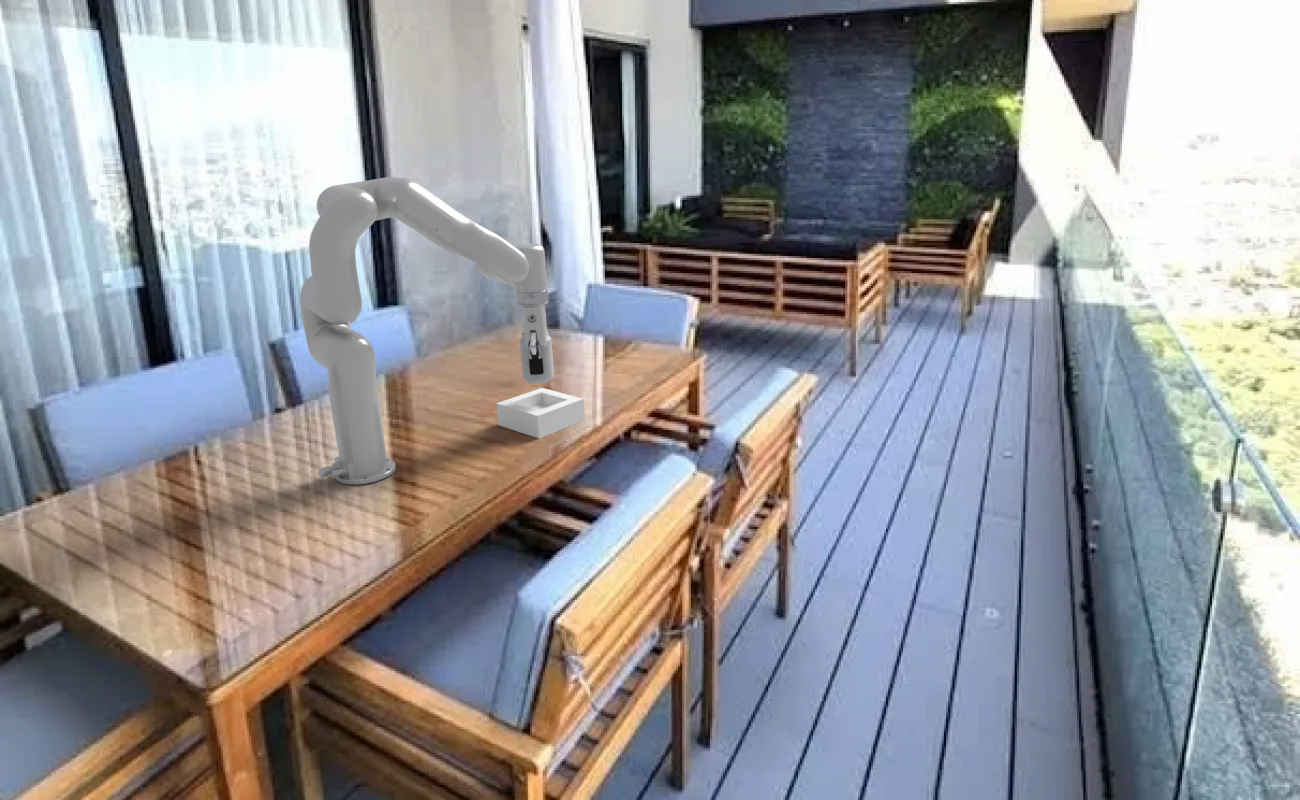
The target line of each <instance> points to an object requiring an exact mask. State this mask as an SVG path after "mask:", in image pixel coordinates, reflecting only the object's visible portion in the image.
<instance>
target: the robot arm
mask: <svg viewBox="0 0 1300 800" xmlns="http://www.w3.org/2000/svg"><path fill="white" fill-rule="evenodd" d="M316 211H317V214H318V215H319V216H318V219H317V221H316V222H315V224H314V226H313V227H312V231H311V233H310V237H309V243H308V246H309V247H308V249H309V251H308V252H309V262H310V272H311V275H310V276H309V277H308V278H307V279H306V280H305V281H304V282H303V284H302V285H301V286H302V287H301V289H300V293H299V305H300V311H301V315H302V322H303V328H304V335H305V339H306V343H307V347H308V348H307V349H308V351H309V354H310V355H311V357H312V358H313V360H314V361H316V363H317V364H319V365H321V366H322V367H324V368H325V369H326V370H327V373H328V397H329V404H330V405H329V406H330V410H331V417H332V421H333V428H334V429H333V430H334V434H335V440H336V445H337V451H338V452H337V453H338V456H336V457H334V462H332V463H331V465H328V466H325V467H321V468H319V469H318V470H317V473H318V475H319V477H320V478H326V477H329V476H331V478H334V480H335V481H336V482H338V483H341V484H343V485H344V484H345V485H356V486H357V485H365V484H371V483H376V482H379V481H381V480H384V479H386V478H388V477H389V476H392V475H393V474H394V473H395V471H396V462H395V461H394V460H392V459H391V458H388V457H387V450H386V444H385V437H384V430H383V429H384V428H383V423H382V417H381V416H382V415H381V408H380V402H379V397H378V388H377V376H376V375H377V374H376V373H377V371H376V369H377V366H376V365H377V359H376V357H377V356H376V352H375V349H374V346H373V345H372V343H371V342H370V341H369V339H368V338H367V337H365V336H364V335H363V334H361V333H360V332H358V331H356V330H353V329H352V328H351V324H352V323H354V322H356V320H357V319H358V318H359V316H360V315H361V312H362V309H363V300H362V295H361V288H360V282H359V275H358V267H357V259H356V249H357V244H358V242H359V240H360V238H361V236H362V235H363V234H364V233H365V231H366V230H368V229H369V228H370V227H371V226H372V225H373V224H374V222H376V221H380V220H383V219H389V218H391V219H396V220H398V221H400V222H401V223H402V224H403V225H405V226H407V227H409V228H410V229H412V230H413V231H415V232H417V233H418V234H420V235H421V236H423V237H424V238H426V239H427V240H428V241H430V242H432V243H433V244H434V245H436V246H438V247H439V248H442V249H443V250H445V251H447V252H448V253H452V254H454V255H457V256H460V257H463V258H466V259H468V260H470V261H473V262H474V263H475V264H476V269H477V271H478V272H479V273H480V275H481V276H483V277H484V278H486V279H488V280H491V281H496V282H500V283H503V284H507V285H514V290H515V291H514V293H515V303H516V306H518V307H521V316H522V326H523V327H522V328H523V333H524V336H525V343H526V346H527V347H528V346H529V347H528V348H529V368H530V374H531V375H540V374H543V373H544V370H543V358H541V346H544V347H545V346H546V345H547V332H548V323H547V312H546V305H548V304H549V294H548V293H549V292H548V280H547V279H548V277H547V268H546V267H547V266H546V255H545V253H546V252H545V248H544V246H543V245H541V244H540V243H539V244H538V243H521V244H517V245H512V244H511V243H509V242H508V241H507V240H506V239H504V238H502V237H501V236H499V235H498V234H496V233H495V232H493V231H491V230H489V229H487V228H486V227H484V226H482V225H480V224H479V223H478V222H476V221H474V220H472V219H471V218H469V217H467V216H466V215H464V214H463V213H460V211H458V210H457V209H455V208H454V207H452V206H450V205H449V204H448V203H447V202H445V201H444V200H442V199H441V198H439V197H438V196H437V195H436V194H434V193H432V192H431V191H430V190H428V189H427V188H425V187H424V186H423V185H421V184H420V183H418V182H417V181H415V180H413V179H410V178H404V177H397V176H396V177H394V176H386V177H381V178H376V179H375V178H374V179H370V180H364V181H354V182H350V183H342V184H337V185H335V184H334V185H331V186H329V187H327V188H325V189H324V190H323V191H322V192H321V193H320V194H319V196H318V197H317V200H316ZM536 336H537V337H536ZM536 341H539V345H536ZM528 342H529V345H528ZM530 342H531V345H530ZM537 348H538V349H537Z"/></svg>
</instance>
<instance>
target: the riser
mask: <svg viewBox="0 0 1300 800" xmlns="http://www.w3.org/2000/svg"><path fill="white" fill-rule="evenodd" d="M584 401H585V400H584V398H581V397H578V396H575V395H570V394H566V393H563V392H560V391H557V390H556V391H555V390H554V389H553V390H551V389H548V388H545V387H540V388H538V389H535V390H531V391H529V392H526V393H522V394H520V395H517V396H513V397H511V398H509V399H505V400H502V401H499V402H496V413H497V423H498V426H500V427H504V428H506V429H509V430H512V431H516V432H517V433H522V434H524V435H528V436H531V437H533V438H537V439H542V438H544V436H545V437H547V436H549V434H550V435H552V434H554V433H557V432H559V430H560V431H562V430H564V428H565V429H567V428H569V427H571V426H574V425H577V424H579V423H582V422H584V421H585V420H586V419H585V404H584V403H585V402H584Z"/></svg>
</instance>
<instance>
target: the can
mask: <svg viewBox="0 0 1300 800" xmlns="http://www.w3.org/2000/svg"><path fill="white" fill-rule="evenodd" d="M521 335H522V337H521V338H520V339H519V347H520V356H521V357H520V358H521V369H522V379H523V380H524V381H526V382H527V383H528V384H534V385H539V384H540V385H541V384H545V383H549V382H551V381H552V379H553V378H554V377H555V368H554V355H553V342H552V340H553V339H552V337H551V336H550V335H549V331H547V345H546V346H545V347H544V346H541V358H543V370H544V373H543V374H540V375H531V374H530V368H529V348H528V347H529V346H528V347H527V346H526V343H525V336H524V332H522V334H521ZM536 337H537V336H536ZM528 345H529V342H528ZM530 345H531V342H530ZM536 345H539V341H536ZM537 349H538V348H537Z"/></svg>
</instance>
